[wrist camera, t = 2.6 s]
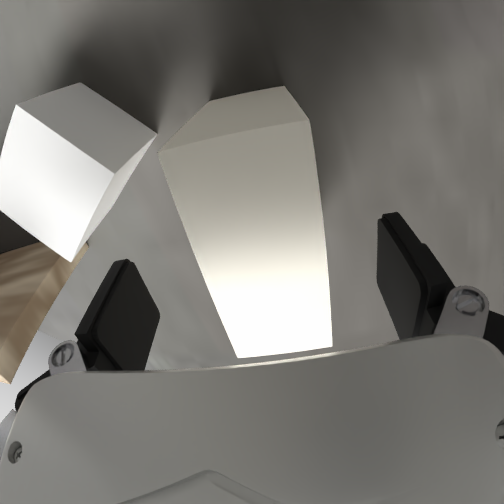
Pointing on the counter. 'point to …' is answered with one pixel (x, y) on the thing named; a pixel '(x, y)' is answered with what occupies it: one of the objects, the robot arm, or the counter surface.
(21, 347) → the wide wooden block
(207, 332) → the counter surface
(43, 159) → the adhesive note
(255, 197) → the white block
